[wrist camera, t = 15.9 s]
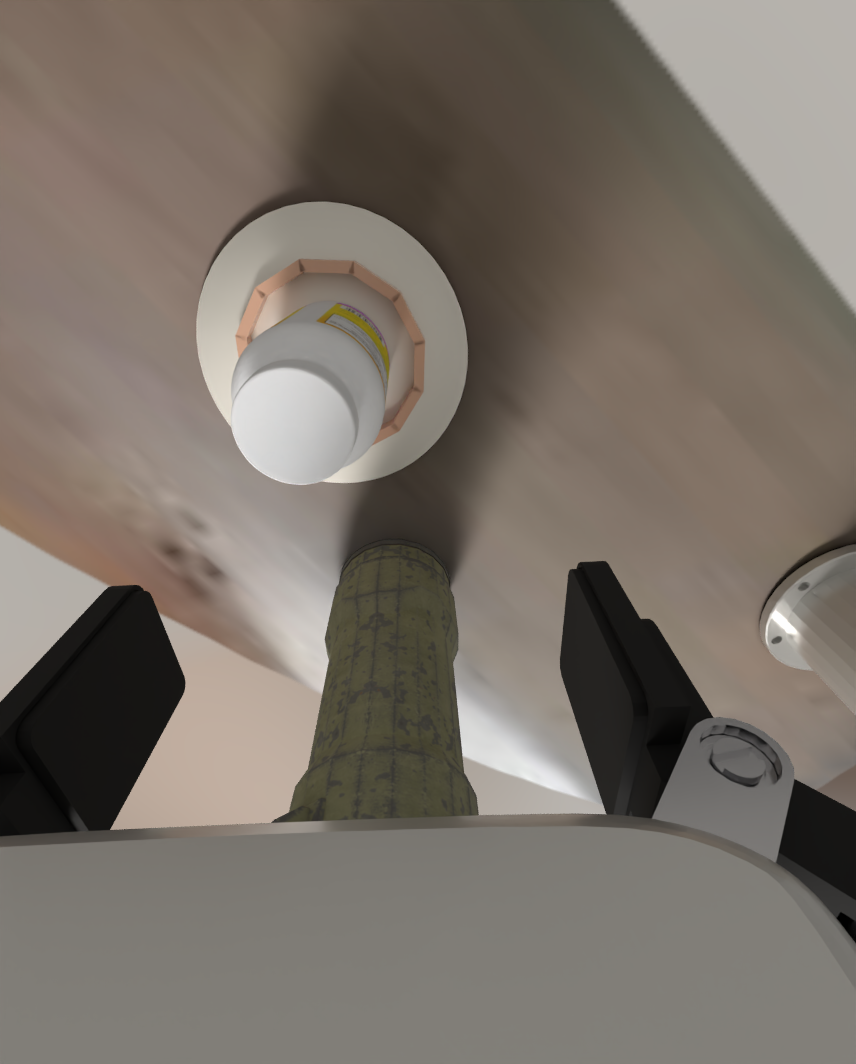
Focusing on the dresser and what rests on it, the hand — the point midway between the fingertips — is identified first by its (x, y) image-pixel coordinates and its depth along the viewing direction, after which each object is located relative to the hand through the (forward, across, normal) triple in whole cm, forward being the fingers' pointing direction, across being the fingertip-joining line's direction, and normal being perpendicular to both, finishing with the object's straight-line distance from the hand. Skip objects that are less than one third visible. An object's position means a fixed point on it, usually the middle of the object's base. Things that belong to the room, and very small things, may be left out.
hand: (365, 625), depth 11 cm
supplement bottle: (+23, +4, -2) cm, 23 cm away
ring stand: (+23, +4, -2) cm, 23 cm away
